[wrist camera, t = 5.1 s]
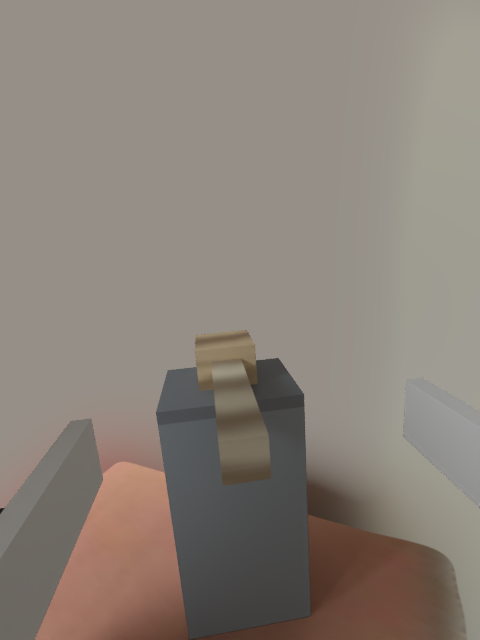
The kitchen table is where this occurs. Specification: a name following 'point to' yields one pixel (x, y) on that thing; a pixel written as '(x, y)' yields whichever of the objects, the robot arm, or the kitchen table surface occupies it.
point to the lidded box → (237, 507)
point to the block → (234, 404)
